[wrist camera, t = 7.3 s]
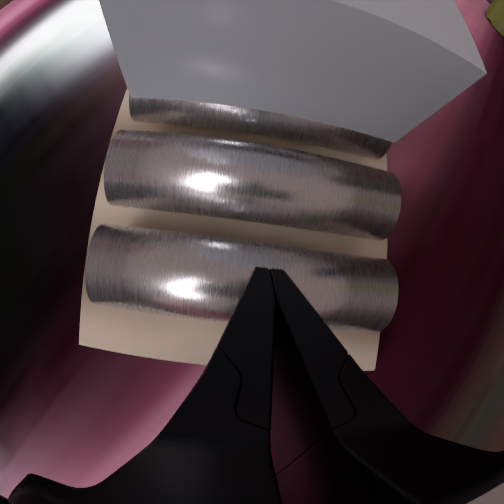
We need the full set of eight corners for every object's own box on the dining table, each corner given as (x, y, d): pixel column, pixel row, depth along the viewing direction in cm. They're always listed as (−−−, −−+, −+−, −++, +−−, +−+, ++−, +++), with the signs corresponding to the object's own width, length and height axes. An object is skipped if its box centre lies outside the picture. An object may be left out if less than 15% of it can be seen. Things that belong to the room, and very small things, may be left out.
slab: (394, 142, 13) (486, 73, 7) (130, 97, 11) (94, -18, 5) (379, 32, 14) (430, -38, 7) (174, -8, 12) (173, -98, 6)
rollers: (357, 327, 16) (393, 336, 12) (108, 302, 14) (80, 306, 11) (360, 66, 18) (382, 35, 14) (171, 32, 16) (168, -6, 13)
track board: (364, 365, 17) (374, 370, 16) (87, 340, 15) (79, 344, 14) (370, 67, 19) (376, 59, 18) (157, 30, 17) (155, 19, 16)
